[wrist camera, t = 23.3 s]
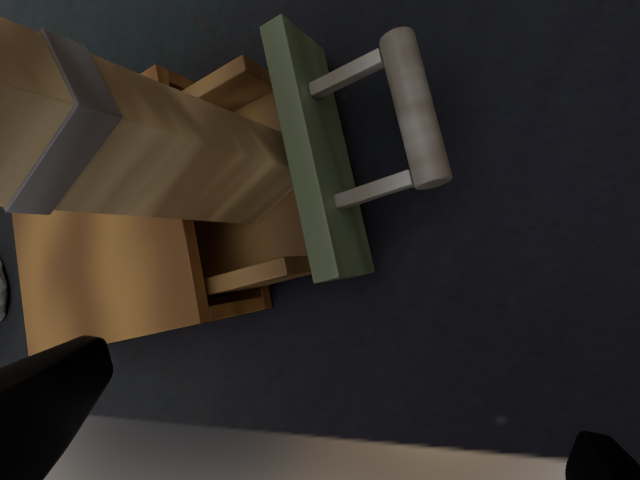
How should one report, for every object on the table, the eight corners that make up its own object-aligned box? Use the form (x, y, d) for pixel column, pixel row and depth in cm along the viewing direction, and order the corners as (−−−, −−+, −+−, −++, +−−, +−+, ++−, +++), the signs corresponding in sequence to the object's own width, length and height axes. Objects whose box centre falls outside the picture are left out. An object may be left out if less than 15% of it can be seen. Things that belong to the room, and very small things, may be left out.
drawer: (415, -1, 18) (385, -53, 15) (481, 247, 17) (464, 248, 14) (146, 145, 27) (90, 131, 24) (175, 318, 25) (120, 329, 22)
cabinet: (231, 98, 25) (155, 63, 20) (272, 307, 23) (200, 323, 18) (87, 176, 31) (5, 164, 27) (111, 342, 30) (28, 360, 25)
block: (314, 173, 20) (-50, 66, 8) (255, 227, 21) (-118, 206, 9) (284, 129, 20) (-84, -27, 9) (231, 185, 22) (-140, 116, 10)
